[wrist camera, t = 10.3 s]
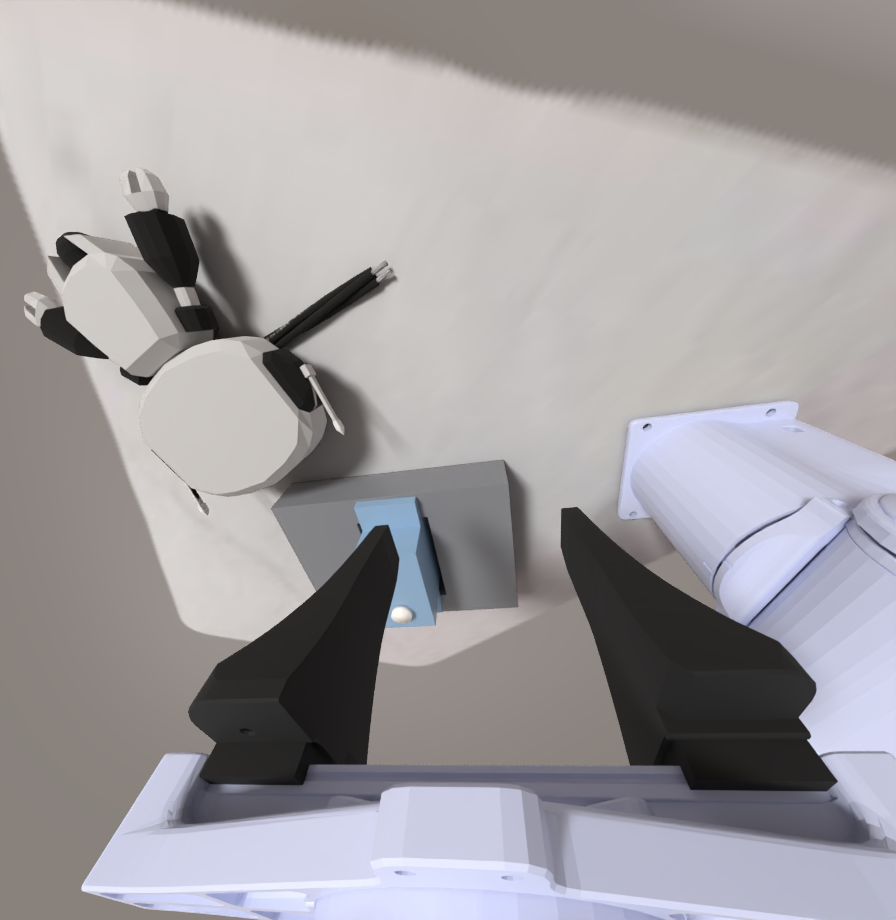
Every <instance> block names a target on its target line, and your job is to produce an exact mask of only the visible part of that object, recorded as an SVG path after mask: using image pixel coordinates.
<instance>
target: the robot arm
mask: <svg viewBox="0 0 896 920" xmlns="http://www.w3.org/2000/svg"><path fill="white" fill-rule="evenodd" d="M770 409H771V410H770ZM798 409H799V405H798V403H796V402H793V401H780V402H772V403H764V404H755V405H747V406H739V407H731V408H723V409H715V410H706V411H698V412H690V413H682V414H674V415H666V416H657V417H649V418H641V419H635V420H633V421H632V422H630V424H629V426H628V431H627V438H626V446H625V454H624V462H623V470H622V477H621V485H620V493H619V501H618V509H617V515H618V516H619V518H620V519H622V520H628V519H640V518H652V519H653V520H654V522H655V523H656V524H657V525H658V527H659V528H660V529H661V531H662V532H663V533H664V534H665V536H666V537H667V538H668V539H669V541H670V542H671V543H672V545H673V546H674V547H675V548H676V550H677V551H678V552H679V553H680V555H681V556H682V557H683V558H684V560H685V561H686V562H687V564H688V565H689V566H690V568H691V569H692V570H693V571H694V573H695V574H696V575H697V576H698V578H699V579H700V580H701V582H702V583H703V584H704V586H705V587H706V588H707V589H708V590H709V592H710V593H711V594H712V596H713V597H714V598H715V599H716V601H717V606H716V609H715V610H713V609H711V608H710V607H708V606H706V605H704V604H702V603H701V602H699V601H697V600H695V599H693V598H692V597H690V596H689V595H687V594H685V593H683V592H682V591H680V590H679V589H677V588H675V587H674V586H672V585H670V584H669V583H667V582H666V581H664V580H663V579H661V578H660V577H658V576H657V575H656V574H654V573H653V572H651V571H650V570H648V569H647V568H646V567H644V566H643V565H642V564H640V563H639V562H638V561H636V560H635V559H634V558H633V557H631V556H630V555H629V554H628V553H626V552H625V551H624V550H623V549H622V548H620V547H619V546H618V545H617V544H616V543H615V542H614V541H612V540H611V539H610V538H609V537H608V536H607V535H606V534H605V533H604V532H603V531H601V530H600V529H599V528H598V527H597V526H596V525H595V524H594V523H593V522H592V521H591V520H590V519H589V518H588V517H587V516H586V515H585V514H584V513H583V512H582V511H581V510H580V509H579V508H578V507H573V508H562V509H561V549H562V553H563V556H564V560H565V563H566V567H567V570H568V573H569V575H570V578H571V580H572V583H573V585H574V588H575V590H576V592H577V595H578V597H579V599H580V602H581V604H582V606H583V609H584V612H585V614H586V617H587V619H588V621H589V624H590V627H591V630H592V632H593V635H594V638H595V642H596V645H597V648H598V651H599V655H600V658H601V661H602V665H603V668H604V671H605V675H606V678H607V682H608V685H609V689H610V692H611V696H612V699H613V703H614V707H615V710H616V714H617V717H618V721H619V725H620V728H621V732H622V736H623V740H624V744H625V748H626V752H627V755H628V759H629V763H630V766H587V765H585V766H583V765H582V766H580V765H578V766H577V765H561V766H560V765H558V766H557V765H552V766H551V765H367V754H368V742H369V733H370V723H371V714H372V706H373V697H374V690H375V682H376V675H377V668H378V662H379V655H380V649H381V643H382V638H383V634H384V630H385V626H386V622H387V618H388V614H389V610H390V607H391V603H392V599H393V595H394V591H395V587H396V583H397V576H398V569H399V560H400V558H399V555H398V552H397V549H396V546H395V543H394V540H393V537H392V534H391V531H390V528H389V525H379V526H374V528H373V529H372V530H371V531H370V532H369V533H368V535H367V536H366V537H365V538H364V540H363V541H362V542H361V543H360V544H359V546H358V547H357V548H356V549H355V550H354V552H353V553H352V554H351V555H350V556H349V558H348V559H347V560H346V561H345V562H344V563H343V564H342V566H341V567H340V568H339V569H338V570H337V571H336V572H335V573H334V574H333V575H332V576H331V577H330V578H329V580H328V581H327V582H326V583H325V584H324V585H323V586H322V587H321V588H319V589H318V590H317V591H316V592H315V593H314V594H313V595H312V596H311V597H310V598H309V599H308V600H306V601H305V602H304V603H303V604H302V605H301V606H299V607H298V608H297V609H296V610H294V611H293V612H292V613H291V614H290V615H288V616H287V617H286V618H285V619H283V620H282V621H281V622H280V623H278V624H277V625H276V626H274V627H273V628H272V629H270V630H269V631H267V632H266V633H265V634H263V635H262V636H260V637H259V638H257V639H256V640H255V641H253V642H252V643H250V644H249V645H247V646H245V647H244V648H243V649H241V650H239V651H238V652H236V653H234V654H233V655H231V656H230V657H228V658H227V659H225V660H223V661H222V662H220V663H218V664H217V666H216V667H215V669H214V670H213V672H212V673H211V675H210V676H209V678H208V679H207V681H206V682H205V684H204V686H203V687H202V689H201V690H200V692H199V693H198V695H197V696H196V698H195V699H194V701H193V702H192V704H191V706H190V708H189V711H188V713H189V717H190V719H191V721H192V722H193V723H194V724H195V725H196V726H197V727H198V728H199V729H200V730H202V731H203V732H204V733H205V734H207V735H208V736H209V737H210V738H211V739H213V740H214V741H215V742H216V745H215V747H214V749H213V751H212V753H211V755H208V754H204V753H197V752H194V753H193V752H173V753H172V752H169V753H167V754H165V755H164V757H163V759H162V760H161V762H160V763H159V765H158V766H157V768H156V770H155V771H154V773H153V774H152V776H151V778H150V779H149V781H148V782H147V784H146V786H145V787H144V789H143V790H142V792H141V793H140V795H139V796H138V798H137V800H136V801H135V803H134V804H133V806H132V808H131V809H130V811H129V812H128V814H127V816H126V817H125V818H124V820H123V822H122V823H121V825H120V826H119V828H118V830H117V831H116V833H115V834H114V836H113V837H112V839H111V841H110V842H109V844H108V845H107V847H106V849H105V850H104V852H103V853H102V855H101V856H100V858H99V860H98V861H97V863H96V864H95V866H94V867H93V869H92V871H91V872H90V874H89V875H88V877H87V878H86V880H85V882H84V883H83V885H82V891H84V892H87V893H91V894H95V895H98V896H102V897H106V898H109V899H113V900H116V901H120V902H124V903H127V904H131V905H134V906H138V907H141V908H145V909H154V910H167V911H168V910H169V911H181V912H192V913H202V914H213V915H223V916H232V917H241V918H250V919H259V920H896V461H895V460H892V459H890V458H887V457H885V456H883V455H880V454H878V453H875V452H873V451H871V450H868V449H866V448H864V447H861V446H859V445H856V444H854V443H852V442H849V441H847V440H845V439H842V438H840V437H837V436H835V435H833V434H830V433H828V432H826V431H823V430H821V429H818V428H816V427H814V426H811V425H809V424H807V423H804V422H802V421H799V420H797V419H795V417H796V414H797V412H798ZM768 410H770V411H769V412H768V413H767V411H768ZM766 413H767V414H766ZM645 424H649V425H648V427H646V428H644V429H643V426H644V425H645ZM631 512H633V513H631ZM630 513H631V514H630Z"/></svg>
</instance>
